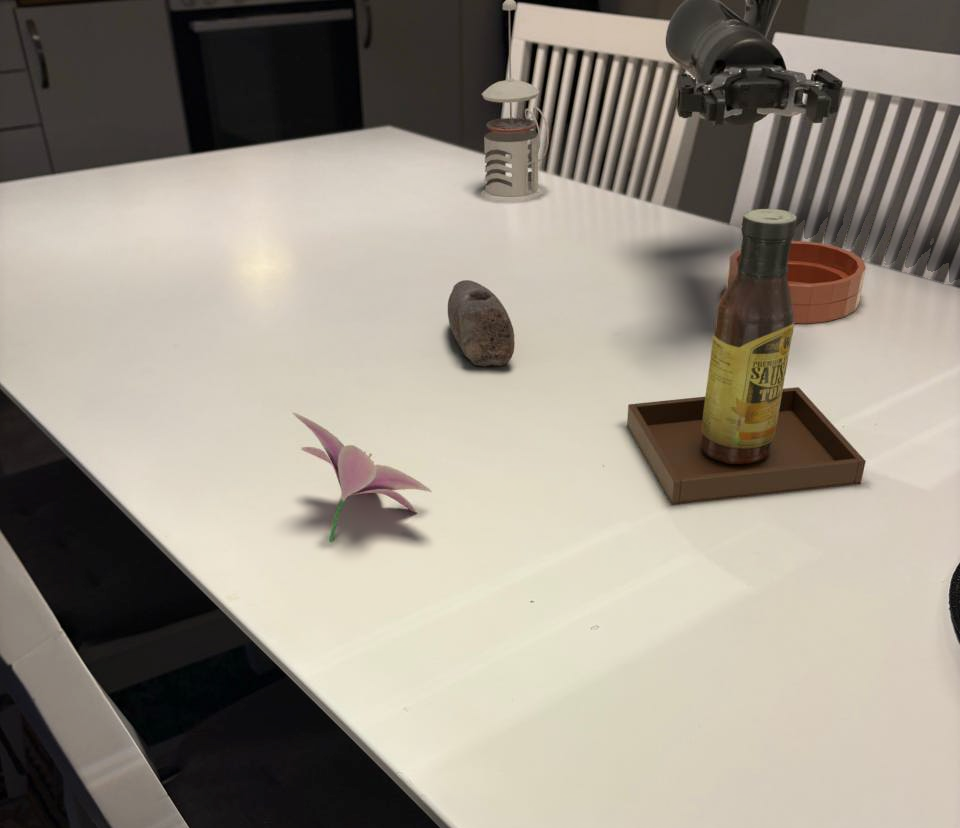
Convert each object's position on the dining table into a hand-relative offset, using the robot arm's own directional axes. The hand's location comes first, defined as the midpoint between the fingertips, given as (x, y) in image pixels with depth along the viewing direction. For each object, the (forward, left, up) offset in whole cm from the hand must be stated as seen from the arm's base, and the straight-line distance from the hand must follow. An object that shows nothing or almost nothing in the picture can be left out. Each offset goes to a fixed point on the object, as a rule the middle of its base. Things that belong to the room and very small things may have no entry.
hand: (770, 111), depth 89 cm
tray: (+6, +16, -24) cm, 29 cm away
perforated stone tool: (+25, -12, -24) cm, 37 cm away
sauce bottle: (+6, +16, -24) cm, 29 cm away
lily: (+39, +20, -24) cm, 50 cm away
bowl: (-12, -17, -24) cm, 32 cm away
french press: (+11, -66, -24) cm, 71 cm away
